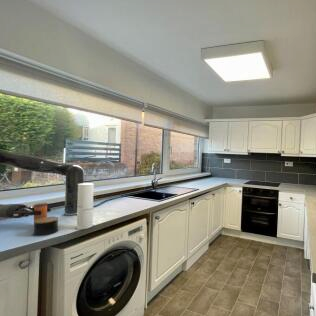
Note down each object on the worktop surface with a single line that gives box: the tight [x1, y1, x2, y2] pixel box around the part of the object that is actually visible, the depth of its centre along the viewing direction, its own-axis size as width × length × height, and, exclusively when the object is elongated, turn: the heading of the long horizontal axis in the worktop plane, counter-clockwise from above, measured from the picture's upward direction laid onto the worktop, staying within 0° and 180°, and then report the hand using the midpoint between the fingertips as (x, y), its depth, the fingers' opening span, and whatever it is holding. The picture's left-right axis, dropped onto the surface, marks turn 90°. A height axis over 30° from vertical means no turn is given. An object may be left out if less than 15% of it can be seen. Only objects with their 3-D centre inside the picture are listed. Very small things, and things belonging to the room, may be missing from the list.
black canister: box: [33, 216, 59, 237], centre depth 103 cm, size 9×9×7 cm
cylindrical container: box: [76, 182, 95, 230], centre depth 113 cm, size 7×7×25 cm
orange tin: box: [33, 202, 48, 222], centre depth 110 cm, size 5×5×10 cm
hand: (45, 211), depth 110 cm, fingers closed on orange tin, 5 cm apart
